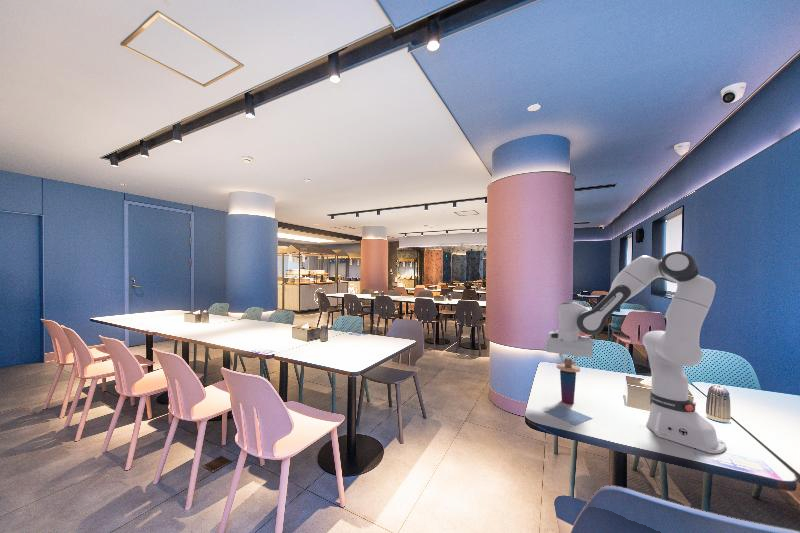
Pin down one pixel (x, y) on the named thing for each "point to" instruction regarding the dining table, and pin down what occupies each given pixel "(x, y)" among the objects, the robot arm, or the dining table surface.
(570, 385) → the cup
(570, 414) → the mat
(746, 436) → the dining table surface
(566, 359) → the lid
